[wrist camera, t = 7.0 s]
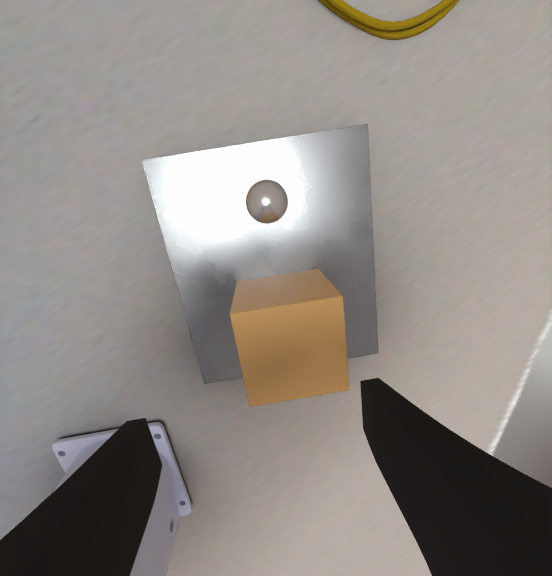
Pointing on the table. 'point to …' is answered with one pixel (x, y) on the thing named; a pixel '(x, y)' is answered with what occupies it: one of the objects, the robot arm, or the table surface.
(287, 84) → the table surface
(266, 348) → the light orange cube
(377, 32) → the extension cord
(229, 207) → the plate
